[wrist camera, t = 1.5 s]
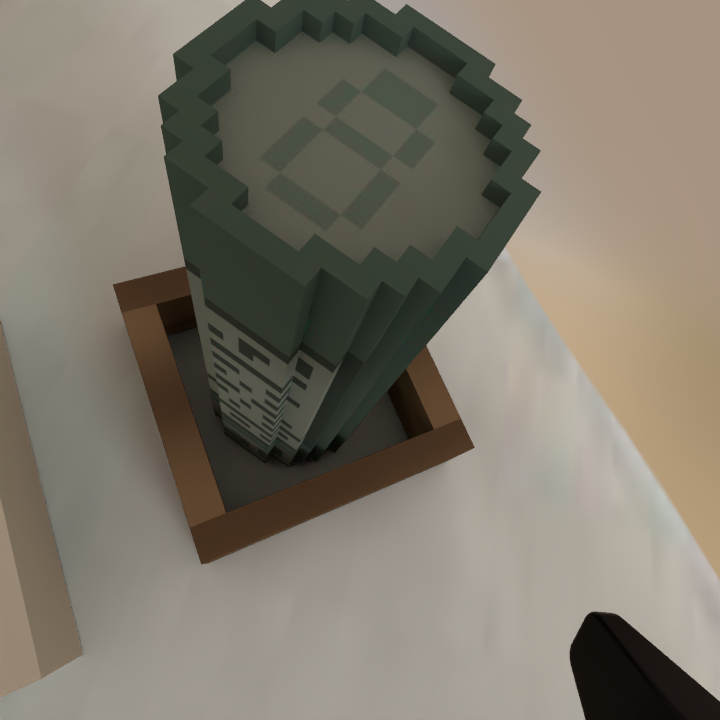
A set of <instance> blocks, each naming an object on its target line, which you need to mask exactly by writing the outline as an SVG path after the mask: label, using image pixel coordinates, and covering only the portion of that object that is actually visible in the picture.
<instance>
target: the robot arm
mask: <svg viewBox="0 0 720 720" xmlns="http://www.w3.org/2000/svg"><path fill="white" fill-rule="evenodd" d="M570 663H571V667H572V671H573V675H574V679H575V682H576V686H577V690H578V693H579V697H580V701H581V705H582V708H583V712H584V716H585V720H720V701H718V700H717V699H716V698H715V697H714V696H713V695H711V694H710V693H709V692H708V691H707V690H706V689H704V688H703V687H702V686H701V685H700V684H699V683H697V682H696V681H695V680H694V679H693V678H692V677H690V676H689V675H688V674H687V673H686V672H685V671H683V670H682V669H681V668H680V667H679V666H678V665H676V664H675V663H674V662H673V661H672V660H670V659H669V658H668V657H667V656H666V655H665V654H663V653H662V652H661V651H660V650H659V649H658V648H656V647H655V646H654V645H653V644H652V643H651V642H649V641H648V640H647V639H646V638H645V637H644V636H642V635H641V634H640V633H639V632H638V631H637V630H635V629H634V628H633V627H632V626H631V625H630V624H628V623H627V622H626V621H625V620H624V619H622V618H621V617H620V616H618V615H617V614H614V613H606V612H591V613H589V614H588V615H587V616H586V617H585V619H584V621H583V623H582V625H581V627H580V629H579V631H578V633H577V635H576V637H575V639H574V640H573V642H572V644H571V648H570Z"/></svg>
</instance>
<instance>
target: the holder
mask: <svg viewBox="0 0 720 720" xmlns="http://www.w3.org/2000/svg"><path fill="white" fill-rule="evenodd" d="M113 287H114V290H115V293H116V296H117V299H118V302H119V306H120V309H121V312H122V315H123V318H124V321H125V324H126V328H127V331H128V334H129V337H130V340H131V343H132V347H133V350H134V353H135V356H136V359H137V362H138V366H139V369H140V372H141V375H142V378H143V381H144V385H145V388H146V391H147V394H148V397H149V400H150V404H151V407H152V410H153V413H154V416H155V419H156V423H157V426H158V429H159V432H160V435H161V438H162V441H163V445H164V448H165V451H166V454H167V457H168V460H169V464H170V467H171V470H172V473H173V476H174V479H175V483H176V486H177V489H178V492H179V495H180V498H181V502H182V505H183V508H184V511H185V514H186V517H187V521H188V524H189V527H190V530H191V533H192V536H193V540H194V543H195V546H196V549H197V552H198V555H199V558H200V562H201V564H208V563H210V562H212V561H215V560H217V559H219V558H222V557H224V556H226V555H229V554H231V553H233V552H236V551H238V550H240V549H243V548H245V547H247V546H250V545H252V544H254V543H257V542H259V541H261V540H264V539H266V538H268V537H271V536H273V535H275V534H278V533H280V532H282V531H285V530H287V529H289V528H292V527H294V526H296V525H299V524H301V523H303V522H306V521H308V520H310V519H313V518H315V517H317V516H320V515H322V514H324V513H327V512H329V511H331V510H334V509H336V508H338V507H341V506H343V505H345V504H348V503H350V502H352V501H355V500H357V499H359V498H362V497H364V496H366V495H369V494H371V493H373V492H376V491H378V490H380V489H383V488H385V487H387V486H390V485H392V484H394V483H397V482H399V481H402V480H404V479H406V478H409V477H411V476H413V475H416V474H418V473H420V472H423V471H425V470H427V469H430V468H432V467H434V466H437V465H439V464H441V463H444V462H446V461H448V460H450V459H452V458H454V457H456V456H458V455H460V454H462V453H465V452H467V451H469V450H471V449H473V448H475V447H474V445H473V443H472V441H471V439H470V437H469V435H468V433H467V431H466V428H465V426H464V424H463V422H462V420H461V418H460V416H459V414H458V412H457V409H456V407H455V405H454V403H453V401H452V399H451V397H450V395H449V393H448V390H447V388H446V386H445V384H444V382H443V380H442V378H441V376H440V374H439V372H438V369H437V367H436V365H435V363H434V361H433V359H432V357H431V355H430V353H429V350H428V348H427V346H425V347H424V348H423V349H422V350H421V352H420V353H419V354H418V355H417V356H416V357H415V359H414V360H413V361H412V362H411V363H410V365H409V366H408V367H407V368H406V369H405V370H404V372H403V373H402V374H401V375H400V376H399V378H398V379H397V380H396V381H395V382H394V383H393V385H392V386H391V387H390V388H389V389H388V390H387V392H388V394H389V396H390V399H391V401H392V403H393V406H394V408H395V410H396V412H397V415H398V417H399V419H400V421H401V424H402V426H403V428H404V430H405V433H406V435H407V437H408V439H409V440H406V441H404V442H401V443H399V444H396V445H394V446H391V447H389V448H386V449H384V450H382V451H379V452H377V453H374V454H372V455H369V456H367V457H364V458H362V459H359V460H357V461H354V462H352V463H349V464H347V465H344V466H342V467H339V468H337V469H334V470H332V471H329V472H327V473H324V474H322V475H319V476H317V477H314V478H312V479H309V480H307V481H304V482H302V483H299V484H297V485H295V486H292V487H290V488H287V489H285V490H282V491H280V492H277V493H275V494H272V495H270V496H267V497H265V498H262V499H260V500H257V501H255V502H252V503H250V504H247V505H245V506H242V507H240V508H237V509H235V510H232V511H230V512H227V513H226V510H225V507H224V504H223V501H222V498H221V495H220V492H219V489H218V486H217V483H216V480H215V477H214V474H213V472H212V469H211V466H210V463H209V460H208V457H207V454H206V451H205V448H204V445H203V442H202V439H201V436H200V433H199V430H198V427H197V424H196V421H195V418H194V415H193V412H192V409H191V406H190V403H189V400H188V397H187V394H186V391H185V388H184V385H183V382H182V379H181V376H180V373H179V371H178V368H177V365H176V362H175V359H174V356H173V353H172V350H171V347H170V344H169V341H168V338H167V335H171V334H174V333H178V332H181V331H185V330H188V329H192V328H195V327H198V326H197V321H196V316H195V311H194V306H193V301H192V296H191V291H190V286H189V281H188V276H187V271H186V267H182V268H178V269H174V270H170V271H166V272H162V273H158V274H154V275H150V276H146V277H142V278H138V279H134V280H129V281H125V282H121V283H117V284H113Z"/></svg>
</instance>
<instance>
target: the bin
mask: <svg viewBox="0 0 720 720" xmlns="http://www.w3.org/2000/svg"><path fill="white" fill-rule="evenodd" d="M82 654H83V651H82V647H81V643H80V639H79V635H78V631H77V627H76V623H75V619H74V615H73V611H72V607H71V603H70V599H69V595H68V591H67V587H66V583H65V579H64V575H63V571H62V567H61V563H60V559H59V555H58V551H57V547H56V543H55V539H54V535H53V531H52V527H51V523H50V519H49V515H48V511H47V507H46V503H45V499H44V495H43V491H42V487H41V483H40V479H39V475H38V471H37V467H36V463H35V459H34V454H33V450H32V446H31V442H30V438H29V434H28V430H27V426H26V422H25V418H24V414H23V410H22V406H21V402H20V398H19V394H18V390H17V386H16V382H15V378H14V374H13V370H12V366H11V362H10V358H9V354H8V350H7V346H6V342H5V338H4V334H3V330H2V326H1V322H0V697H2V696H4V695H6V694H9V693H11V692H13V691H15V690H17V689H20V688H22V687H24V686H26V685H28V684H31V683H33V682H35V681H37V680H39V679H42V678H43V677H45V676H47V675H48V674H50V673H52V672H54V671H55V670H57V669H59V668H60V667H62V666H64V665H65V664H67V663H69V662H71V661H72V660H74V659H76V658H77V657H79V656H81V655H82Z"/></svg>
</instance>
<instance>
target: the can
mask: <svg viewBox="0 0 720 720" xmlns="http://www.w3.org/2000/svg"><path fill="white" fill-rule="evenodd" d="M173 57H174V64H175V71H176V79H177V81H176V82H175V83H174V84H173V85H171V86H170V87H169V88H167V89H166V90H165V91H164V92H162V93H161V94H160V95H158V98H159V104H160V109H161V114H162V120H163V124H162V125H161V129H162V134H163V139H164V144H165V150H166V155H165V156H164V160H165V165H166V170H167V175H168V180H169V185H170V190H171V195H172V200H173V205H174V210H175V215H176V220H177V225H178V230H179V235H180V240H181V245H182V250H183V255H184V260H185V265H186V271H187V276H188V281H189V286H190V291H191V296H192V301H193V306H194V311H195V316H196V321H197V326H198V331H199V336H200V341H201V346H202V351H203V356H204V361H205V366H206V371H207V376H208V381H209V386H210V391H211V396H212V401H213V406H214V411H215V415H216V416H218V417H219V418H221V419H222V420H223V426H224V432H225V435H227V436H228V437H229V438H231V439H232V440H234V441H235V442H236V443H238V444H239V445H240V446H242V447H243V448H245V449H246V450H247V451H249V452H250V453H251V454H253V455H254V456H256V457H257V458H258V459H260V460H261V461H263V462H264V463H265V464H266V462H267V461H268V460H269V458H270V457H271V456H273V457H275V458H276V459H277V460H279V461H280V462H281V463H283V464H284V465H286V466H287V467H288V466H289V465H290V464H291V462H292V461H293V460H294V459H295V460H296V461H297V462H299V463H300V464H301V465H302V464H303V463H304V461H305V460H306V459H307V457H309V458H310V459H312V460H313V461H314V462H317V460H318V459H319V458H320V456H321V455H322V454H323V452H324V451H325V449H326V448H327V447H328V448H330V449H331V450H333V451H334V452H336V451H337V449H338V448H339V447H340V446H341V445H342V444H343V442H344V441H345V440H346V439H347V438H348V436H349V435H350V434H351V433H352V432H353V431H354V429H355V428H356V427H357V426H358V425H359V423H360V422H361V421H362V420H363V419H364V418H365V416H366V415H367V414H368V413H369V412H370V411H371V409H372V408H373V407H374V406H375V405H376V403H377V402H378V401H379V400H380V399H381V398H382V396H383V395H384V394H385V393H386V392H387V390H388V389H389V388H390V387H391V386H392V385H393V383H394V382H395V381H396V380H397V379H398V378H399V376H400V375H401V374H402V373H403V372H404V370H405V369H406V368H407V367H408V366H409V365H410V363H411V362H412V361H413V360H414V359H415V357H416V356H417V355H418V354H419V353H420V352H421V350H422V349H423V348H424V347H425V346H426V345H427V343H428V342H429V341H430V340H431V339H432V337H433V336H434V335H435V334H436V333H437V332H438V330H439V329H440V328H441V327H442V326H443V324H444V323H445V322H446V321H447V320H448V319H449V317H450V316H451V315H452V314H453V313H454V312H455V310H456V309H457V308H458V307H459V306H460V304H461V303H462V302H463V301H464V300H465V299H466V297H467V296H468V295H469V294H470V293H471V291H472V290H473V289H474V288H475V287H476V286H477V284H478V283H479V282H480V281H481V280H482V279H483V277H484V276H485V275H486V274H487V273H488V271H489V270H490V268H491V267H492V265H493V264H494V262H495V261H496V259H497V258H498V256H499V255H500V253H501V252H502V250H503V249H504V247H505V246H506V244H507V243H508V241H509V240H510V238H511V237H512V235H513V234H514V232H515V231H516V229H517V228H518V226H519V224H520V223H521V222H522V220H523V218H524V217H525V216H526V214H527V213H528V211H529V210H530V208H531V206H532V205H533V203H534V202H535V200H536V199H537V197H538V196H539V194H540V193H541V191H539V190H538V189H536V188H535V187H533V186H532V185H530V184H529V183H527V182H526V181H524V180H523V179H522V177H523V176H524V174H525V173H526V171H527V170H528V168H529V167H530V165H531V164H532V163H533V161H534V160H535V158H536V157H537V156H538V154H539V153H540V150H539V149H538V148H536V147H535V146H533V145H532V144H530V143H529V142H527V141H526V140H524V139H523V137H524V135H525V134H526V132H527V131H528V129H529V128H530V126H531V125H530V124H529V123H528V122H526V121H525V120H523V119H522V118H520V117H519V116H517V115H516V114H514V113H515V111H516V110H517V108H518V106H519V104H520V103H521V101H522V100H521V99H520V98H518V97H517V96H515V95H514V94H512V93H511V92H509V91H508V90H506V89H505V88H504V87H502V86H500V85H499V84H498V83H496V82H495V81H493V80H492V79H490V78H489V76H490V74H491V72H492V70H493V68H494V66H495V63H493V62H492V61H490V60H489V59H487V58H486V57H484V56H483V55H481V54H480V53H478V52H477V51H475V50H474V49H472V48H471V47H469V46H468V45H466V44H465V43H463V42H462V41H460V40H459V39H457V38H456V37H455V36H453V35H451V34H450V33H449V32H447V31H446V30H444V29H443V28H441V27H440V26H438V25H437V24H435V23H434V22H432V21H431V20H429V19H428V18H426V17H425V16H423V15H422V14H420V13H419V12H417V11H416V10H414V9H413V8H411V7H410V6H409V5H407V4H406V5H405V6H404V7H403V8H402V9H401V10H400V11H399V12H398V13H397V14H394V13H392V12H391V11H389V10H388V9H386V8H385V7H383V6H382V5H381V4H379V3H377V2H376V1H375V0H281V1H279V2H278V3H277V4H275V5H274V6H273V7H272V8H271V7H269V6H268V5H267V4H265V3H264V2H262V1H261V0H245V1H244V2H242V3H241V4H240V5H238V6H237V7H236V8H234V9H233V10H232V11H230V12H229V13H228V14H226V15H225V16H224V17H222V18H221V19H219V20H218V21H217V22H215V23H214V24H213V25H211V26H210V27H209V28H207V29H206V30H205V31H203V32H202V33H201V34H199V35H198V36H197V37H195V38H194V39H193V40H191V41H190V42H189V43H187V44H186V45H185V46H183V47H182V48H181V49H179V50H178V51H177V52H175V53H174V54H173Z"/></svg>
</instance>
